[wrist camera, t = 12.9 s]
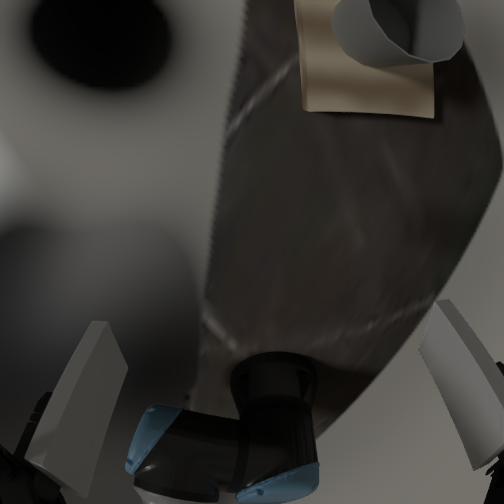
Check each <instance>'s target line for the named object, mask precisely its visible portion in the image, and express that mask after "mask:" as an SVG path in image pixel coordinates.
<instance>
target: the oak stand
mask: <svg viewBox="0 0 504 504" xmlns="http://www.w3.org/2000/svg"><path fill="white" fill-rule="evenodd" d="M340 1H341V0H294V7H295V16H296V26H297V36H298V47H299V59H300V72H301V86H302V103H303V110H306V111H309V112H313V111H331V112H366V113H383V114H396V115H407V116H417V117H426V118H434V74H433V63H425V64H413V65H403V66H394V67H386V68H376V67H371V66H366V65H362V64H360V63H359V62H357V61H356V60H354V59H352V58H351V57H349V56H348V55H346V54H345V52H344V51H343V50H342V48H341V47H340V46H339V44H338V43H337V42H336V40H335V39H334V34H333V30H332V26H331V19H332V15H333V12H334V8H335V6H336V5H337V4H338V3H339V2H340Z"/></svg>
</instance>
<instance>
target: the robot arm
mask: <svg viewBox="0 0 504 504" xmlns="http://www.w3.org/2000/svg"><path fill="white" fill-rule="evenodd" d="M418 350H419V352H420V354H421V356H422V358H423V359H424V361H425V363H426V365H427V367H428V369H429V371H430V373H431V375H432V377H433V379H434V381H435V383H436V385H437V387H438V389H439V391H440V393H441V396H442V398H443V400H444V402H445V404H446V406H447V408H448V410H449V413H450V415H451V417H452V419H453V422H454V424H455V426H456V428H457V430H458V433H459V435H460V438H461V440H462V443H463V445H464V448H465V450H466V452H467V455H468V458H469V460H470V463H471V465H472V468H473V471H475V470H477V469H479V468H481V467H483V466H485V465H487V464H489V463H490V462H491V461H492V460H493V459H494V458H495V457H497V456H498V458H499V460H498V461H497V462H496V463H495V464H494V465H493V466H491V467H490V468H489V469H488V470H487V472H486V474H485V475H488V474H490V473H491V472H492V471H493V470H494V472H493V473H492V474H491V477H492V480H491V483H490V486H489V489H488V492H487V495H486V498H485V501H484V504H504V364H503V363H501V362H500V361H499V362H497V363H495V362H494V361H493V359H492V357H491V356H490V354H489V353H488V352H487V350H486V349H485V347H484V346H483V344H482V343H481V341H480V340H479V338H478V337H477V336H476V334H475V333H474V331H473V330H472V329H471V327H470V326H469V325H468V323H467V322H466V321H465V319H464V318H463V317H462V315H461V314H460V313H459V311H458V310H457V309H456V308H455V306H454V305H453V304H452V302H451V301H450V300H449V299H446V300H440V301H435V302H434V305H433V309H432V312H431V315H430V318H429V321H428V324H427V327H426V330H425V332H424V335H423V338H422V341H421V343H420V346H419V349H418ZM127 370H128V366H127V364H126V362H125V360H124V358H123V356H122V354H121V351H120V349H119V347H118V345H117V342H116V340H115V338H114V335H113V333H112V331H111V328H110V326H109V324H108V322H107V321H92V322H91V324H90V326H89V327H88V329H87V331H86V332H85V335H84V336H83V338H82V340H81V341H80V343H79V345H78V347H77V348H76V350H75V352H74V354H73V356H72V357H71V359H70V361H69V363H68V365H67V367H66V369H65V371H64V373H63V375H62V376H61V378H60V380H59V382H58V385H57V386H56V388H55V390H54V392H53V393H52V392H46V393H45V394H44V395H43V396H42V397H41V398H40V400H38V402H37V405H36V406H35V409H34V411H33V414H32V415H31V417H30V419H29V422H28V423H27V425H26V427H25V430H24V432H23V434H22V436H21V439H20V441H19V443H18V446H17V448H16V450H15V452H14V454H13V455H12V454H11V453H10V452H8V451H7V450H6V449H5V448H4V447H3V446H2V445H1V444H0V504H66V502H65V500H64V497H63V496H62V494H61V492H60V488H61V487H62V488H64V489H65V490H66V491H68V492H70V493H72V494H75V495H78V496H81V497H84V498H87V495H88V492H89V488H90V485H91V481H92V477H93V474H94V470H95V467H96V463H97V460H98V456H99V453H100V450H101V446H102V443H103V440H104V437H105V433H106V430H107V427H108V424H109V421H110V418H111V415H112V412H113V409H114V407H115V404H116V401H117V398H118V395H119V392H120V389H121V387H122V384H123V381H124V378H125V375H126V373H127ZM230 387H231V393H232V396H233V399H234V402H235V404H236V407H237V410H238V413H239V420H236V419H231V418H225V417H219V416H214V415H208V414H203V413H198V412H194V411H190V410H186V409H184V407H180V408H177V407H173V406H168V405H163V404H154V405H152V406H150V407H149V408H148V409H147V410H146V412H145V413H144V415H143V417H142V419H141V421H140V423H139V426H138V428H137V431H136V433H135V436H134V438H133V441H132V444H131V446H130V449H129V453H128V458H127V461H126V464H125V469H126V471H127V472H129V473H130V474H131V475H134V474H135V478H134V484H133V487H134V488H135V489H136V491H137V492H138V493H139V495H140V496H141V498H142V504H218V499H219V493H220V492H228V493H235V494H236V495H235V498H236V499H237V502H238V503H239V504H281V503H286V502H290V501H294V500H297V499H300V498H303V497H305V496H308V495H309V494H311V493H312V492H314V491H315V490H316V489H317V487H318V485H319V462H318V457H317V449H316V442H315V434H314V427H313V421H312V413H311V411H312V406H313V402H314V398H315V394H316V389H317V376H316V371H315V368H314V366H313V365H312V364H311V363H310V362H309V361H308V360H306V359H305V358H303V357H300V356H298V355H294V354H290V353H283V352H272V353H264V354H259V355H255V356H252V357H250V358H248V359H246V360H244V361H242V362H241V363H239V364H238V365H237V366H236V367H235V369H234V370H233V372H232V375H231V385H230Z"/></svg>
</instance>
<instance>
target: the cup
mask: <svg viewBox="0 0 504 504" xmlns="http://www.w3.org/2000/svg"><path fill="white" fill-rule="evenodd" d="M331 26H332V30H333V34H334V39H335V40H336V42H337V43H338V44H339V46H340V47H341V48H342V50H343V51H344V52H345V54H346V55H348V56H349V57H351V58H352V59H354V60H356V61H357V62H359V63H360V64H362V65H366V66H371V67H376V68H386V67H394V66H403V65H413V64H425V63H434V62H439V61H444V60H450V59H451V58H452V57H453V56H454V55H455V53H456V52H457V51H458V50H459V49H460V48H461V47H462V43H463V38H464V33H465V25H464V21H463V17H462V12H461V8H460V6H459V4H458V3H457V1H456V0H341V1H340V2H339V3H338V4H337V5H336V6H335V8H334V12H333V15H332V19H331Z"/></svg>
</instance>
